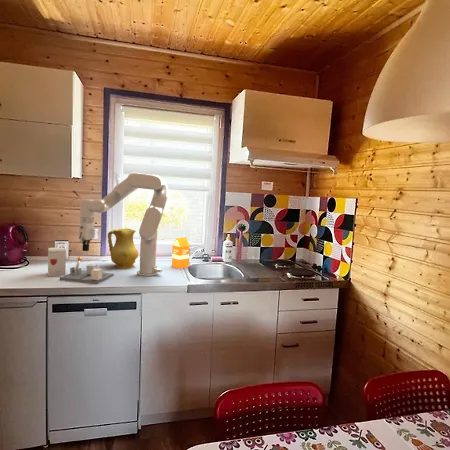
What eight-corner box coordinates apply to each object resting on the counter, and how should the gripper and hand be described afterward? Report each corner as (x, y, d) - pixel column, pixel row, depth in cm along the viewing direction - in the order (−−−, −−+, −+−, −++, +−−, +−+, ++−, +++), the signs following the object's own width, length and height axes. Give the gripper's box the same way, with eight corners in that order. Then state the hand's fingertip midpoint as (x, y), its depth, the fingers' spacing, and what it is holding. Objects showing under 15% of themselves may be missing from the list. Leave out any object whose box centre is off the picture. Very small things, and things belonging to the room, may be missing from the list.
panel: (113, 275, 201) (113, 267, 200) (97, 284, 183) (97, 274, 182) (79, 272, 204) (79, 264, 204) (60, 280, 186) (60, 271, 186)
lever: (78, 273, 195) (83, 257, 199) (76, 272, 193) (81, 256, 197) (74, 272, 195) (79, 257, 199) (72, 271, 193) (77, 255, 197)
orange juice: (171, 266, 233) (172, 237, 231) (181, 264, 239) (182, 236, 237) (179, 268, 228) (180, 238, 226) (188, 266, 234) (190, 237, 232)
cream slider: (101, 278, 188) (101, 269, 188) (97, 280, 184) (98, 270, 184) (95, 277, 189) (95, 268, 188) (91, 279, 185) (91, 270, 184)
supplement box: (47, 276, 192) (48, 250, 190) (47, 272, 199) (47, 247, 198) (65, 275, 196) (66, 249, 194) (65, 271, 204) (65, 247, 202)
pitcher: (121, 270, 213) (122, 230, 212) (103, 266, 224) (104, 228, 223) (143, 267, 227) (144, 229, 226) (125, 263, 238) (126, 227, 237)
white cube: (96, 273, 198) (96, 264, 197) (92, 274, 194) (93, 266, 193) (90, 272, 198) (90, 264, 198) (86, 274, 195) (86, 265, 194)
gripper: (85, 221, 194) (84, 253, 196) (99, 219, 209) (98, 249, 211) (73, 220, 195) (72, 252, 197) (88, 218, 210) (86, 248, 212)
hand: (85, 250), depth 204 cm, fingers closed
